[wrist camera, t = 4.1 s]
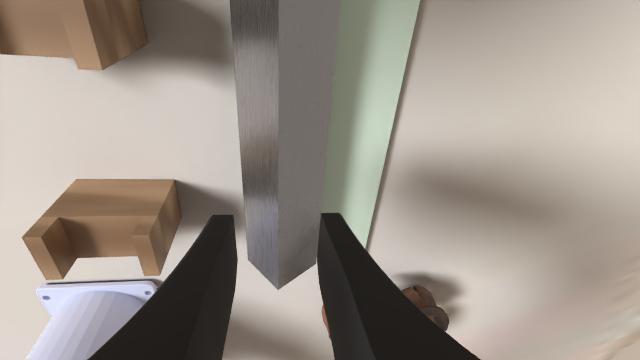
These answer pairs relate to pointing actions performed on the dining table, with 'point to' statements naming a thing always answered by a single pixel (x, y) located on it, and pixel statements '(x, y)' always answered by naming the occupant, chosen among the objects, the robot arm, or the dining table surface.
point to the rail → (283, 126)
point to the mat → (364, 104)
